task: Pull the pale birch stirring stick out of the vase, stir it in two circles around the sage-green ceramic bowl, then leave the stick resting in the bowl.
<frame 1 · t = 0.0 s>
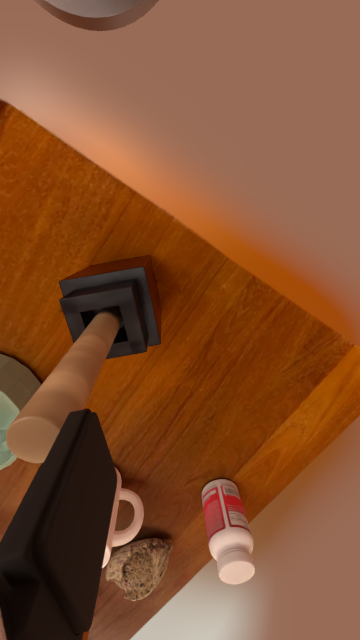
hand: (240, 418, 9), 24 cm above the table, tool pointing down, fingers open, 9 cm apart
stick: (112, 314, 22), point 10 cm above the table, touching vase
seashell: (143, 544, 47), on the table
pill bottle: (219, 489, 44), on the table
vase: (127, 289, 31), on the table
mug: (108, 477, 41), on the table
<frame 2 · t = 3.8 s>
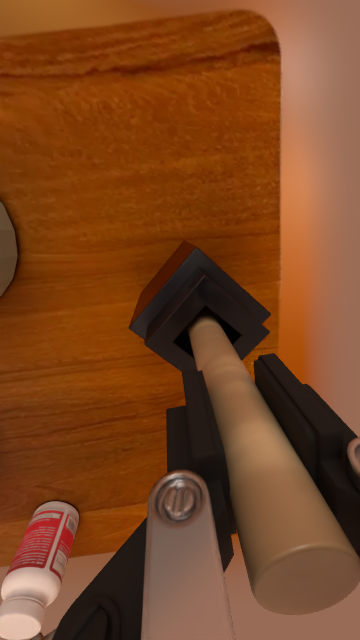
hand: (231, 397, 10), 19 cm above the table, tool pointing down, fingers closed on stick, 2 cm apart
stick: (200, 321, 18), point 10 cm above the table, touching gripper, vase
pill bottle: (58, 513, 37), on the table
vase: (187, 289, 27), on the table
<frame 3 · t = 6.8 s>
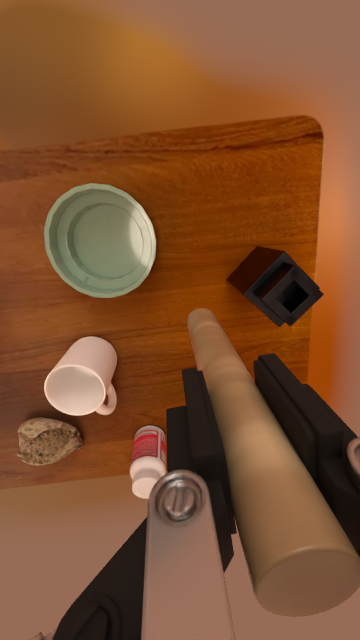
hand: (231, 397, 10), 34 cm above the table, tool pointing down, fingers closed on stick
stick: (201, 321, 18), point 25 cm above the table, touching gripper
seashell: (57, 430, 51), on the table
pill bottle: (150, 435, 52), on the table
bowl: (110, 242, 40), on the table
vase: (256, 277, 43), on the table
mug: (100, 364, 46), on the table
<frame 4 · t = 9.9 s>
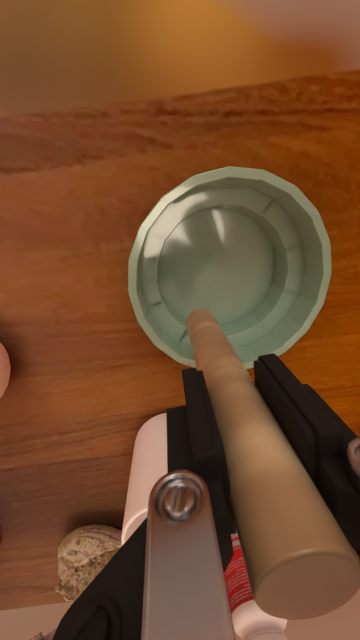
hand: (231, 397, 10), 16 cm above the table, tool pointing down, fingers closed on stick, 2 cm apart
stick: (200, 322, 18), point 7 cm above the table, touching gripper
seashell: (108, 534, 35), on the table
pill bottle: (239, 536, 37), on the table
bowl: (215, 270, 24), on the table
mug: (179, 448, 31), on the table
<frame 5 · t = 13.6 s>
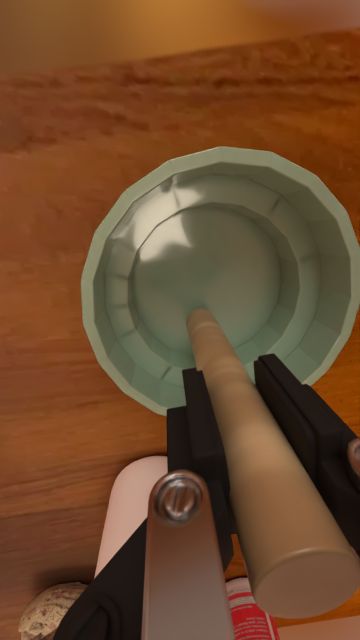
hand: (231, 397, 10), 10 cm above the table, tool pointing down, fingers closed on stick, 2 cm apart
stick: (200, 322, 18), point 2 cm above the table, touching gripper
seashell: (85, 590, 30), on the table
pill bottle: (239, 589, 31), on the table
bowl: (206, 286, 19), on the table
mug: (166, 495, 26), on the table
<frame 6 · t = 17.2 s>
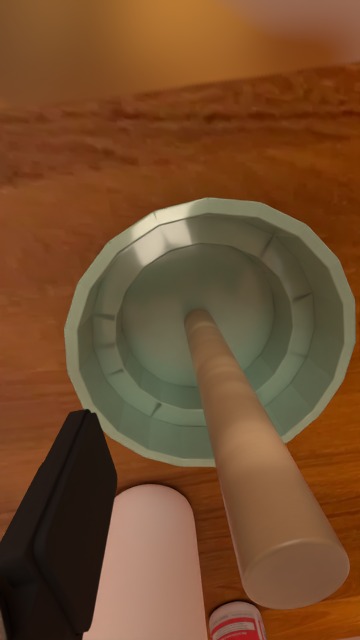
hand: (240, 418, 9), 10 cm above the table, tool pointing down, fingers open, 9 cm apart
stick: (198, 322, 18), point 1 cm above the table, touching bowl
pill bottle: (233, 612, 31), on the table
bowl: (198, 318, 18), on the table
mug: (159, 522, 25), on the table
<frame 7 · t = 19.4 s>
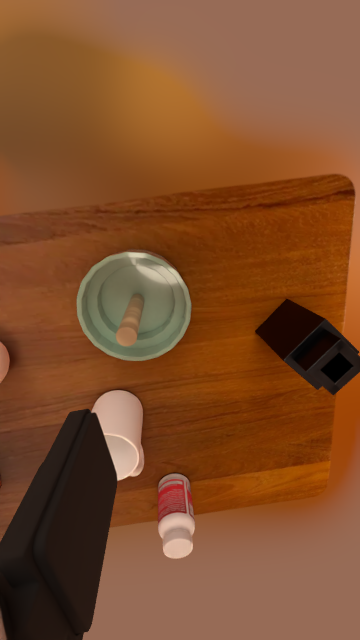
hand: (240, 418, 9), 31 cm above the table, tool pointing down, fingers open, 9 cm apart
stick: (137, 300, 38), point 1 cm above the table, touching bowl
pill bottle: (173, 483, 51), on the table
bowl: (138, 298, 39), on the table
vase: (284, 328, 42), on the table
mug: (125, 415, 45), on the table
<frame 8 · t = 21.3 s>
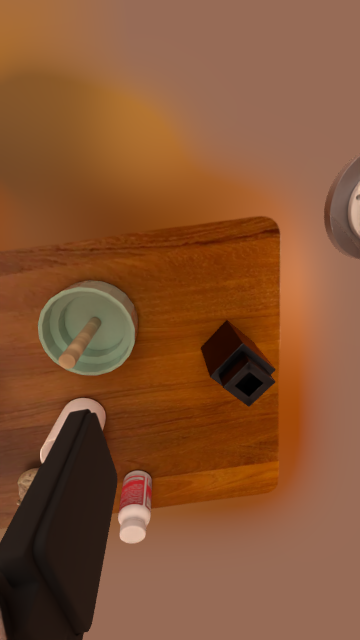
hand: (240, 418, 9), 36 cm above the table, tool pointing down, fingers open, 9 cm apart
stick: (95, 322, 44), point 1 cm above the table, touching bowl
seashell: (53, 476, 56), on the table
pill bottle: (138, 479, 58), on the table
bowl: (96, 320, 45), on the table
vase: (227, 345, 48), on the table
mug: (91, 419, 52), on the table
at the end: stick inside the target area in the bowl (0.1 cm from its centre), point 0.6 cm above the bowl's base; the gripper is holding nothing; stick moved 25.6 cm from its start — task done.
